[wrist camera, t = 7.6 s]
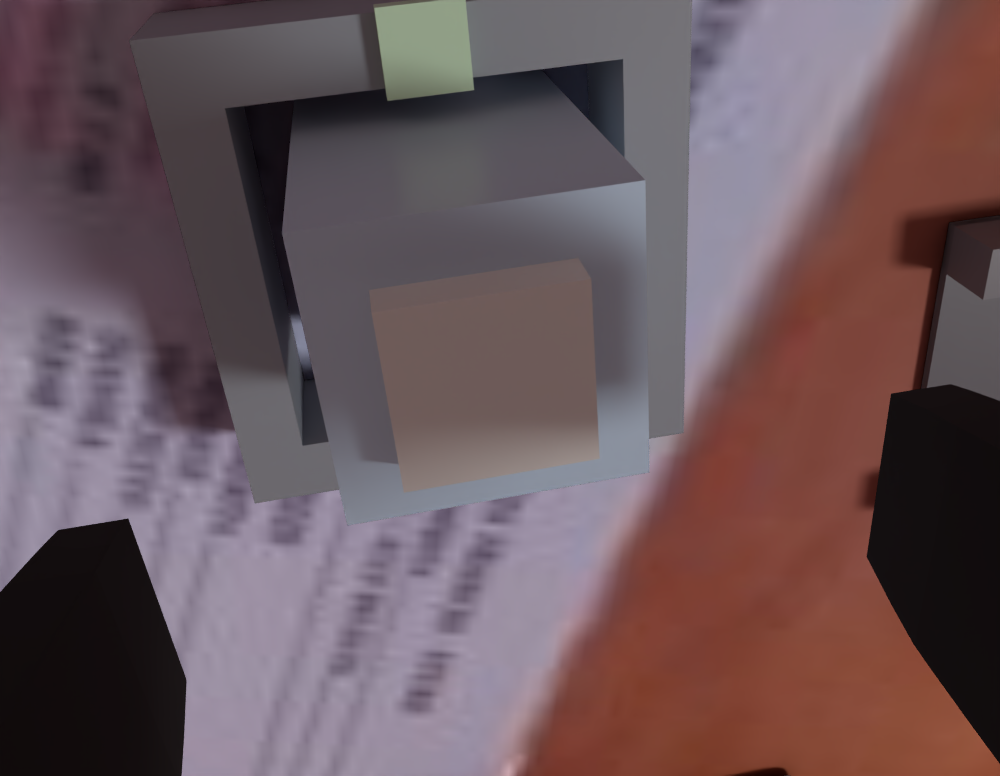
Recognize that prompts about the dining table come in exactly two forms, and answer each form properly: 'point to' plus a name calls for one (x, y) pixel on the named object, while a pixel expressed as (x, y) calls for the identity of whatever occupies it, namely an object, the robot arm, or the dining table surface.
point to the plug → (468, 293)
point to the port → (403, 74)
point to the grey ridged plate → (967, 310)
